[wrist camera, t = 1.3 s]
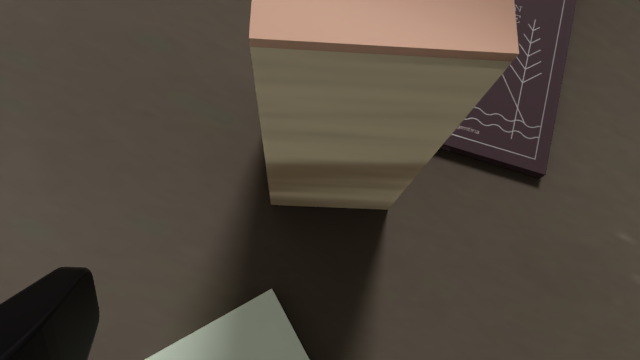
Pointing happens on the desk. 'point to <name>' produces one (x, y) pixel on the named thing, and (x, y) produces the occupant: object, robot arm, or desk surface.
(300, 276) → the desk surface
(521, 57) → the chocolate bar
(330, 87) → the maple block
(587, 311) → the desk surface
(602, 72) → the desk surface
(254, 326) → the sage mat
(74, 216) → the desk surface
